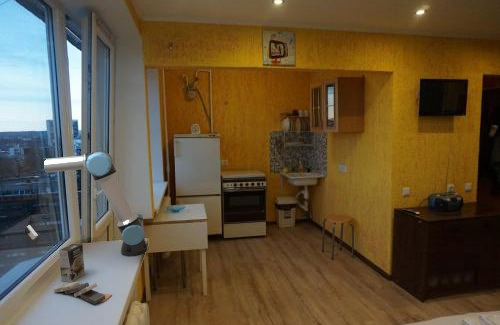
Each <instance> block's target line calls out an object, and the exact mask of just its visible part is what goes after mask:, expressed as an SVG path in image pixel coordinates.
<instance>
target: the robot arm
mask: <svg viewBox="0 0 500 325" xmlns="http://www.w3.org/2000/svg"><path fill="white" fill-rule="evenodd" d="M45 159H46V160H45V161H44V170H45V172H47V173H56V172H66V171H78V170H86V171H88V173H89V174H90V175H91V176H92V178H93V180H94V181H95V182H97V183H99V185H100V187H101V189H102V191H103V193H104V196H105V197H106V199H107V202H108V204H109V205H110V207H111V209H112V211H113V213H114V215H115V217H116V219H117V224H116V227H117V228H118V231H119V232H120V234H121V240H122V244H121V247H120V254H121V255H122V256H125V257H134V256H139V255H142V254H143V255H144V254H145V253H146V252H147V251H148V244H147V242H146V239H145V227H144V226H145V225H144V217H143V216H144V215H143V213H141V212H139V213H138V212H135V213H134V212H133V210H132V207H131V206H130V204H129V202H128V200H127V197H126V196H125V193H124V191H123V188H122V186H121V184H120V183H119V180H118V179H117V177H116V175H117V172H118V171H117V170H116V167H115V166H114V164H113V158H112V155H111V154H110V153H109V152H107V151H104V150H97V151H94V152H85V153H84V154H83V155H75V156H61V157H51V158H45ZM47 173H46V174H47ZM33 224H34V218H33V217H32V215H31V217H30V221H28V226H26V228H25V232H24V233H25V235H28V236H29V237H30V239H31V240H36V239H37V238H38V236H39V234H38V233H37V232H36V231H35V230H36V229H35V228H34V226H33Z"/></svg>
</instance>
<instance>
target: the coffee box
mask: <svg viewBox="0 0 500 325" xmlns="http://www.w3.org/2000/svg"><path fill="white" fill-rule="evenodd" d="M83 245H84V244H82V243H71V244H69V245H67V246H65V247H63V248H61V249H58V253H59V254H58V255H59V265H60V266H59V267H60V277H61V278H60V279H61V282H67V283H72V282H76V281H77V279H79V278H81V277H82V276H84V275H85V261H84V259H85V258H84V248H83V247H84V246H83Z"/></svg>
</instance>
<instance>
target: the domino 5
mask: <svg viewBox="0 0 500 325" xmlns="http://www.w3.org/2000/svg"><path fill="white" fill-rule="evenodd" d="M100 293H101V294H103V295H105V299H104V300H102V301H100V302H101V303H106V301H108V300H109V299H110V298H111V297H113V294H112V293H104V292H103V293H102V292H100ZM100 302H99V303H100Z"/></svg>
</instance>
